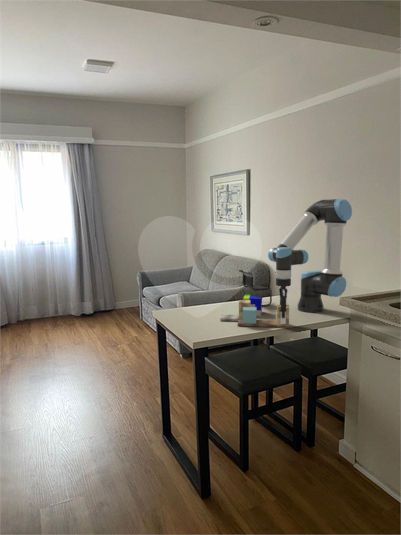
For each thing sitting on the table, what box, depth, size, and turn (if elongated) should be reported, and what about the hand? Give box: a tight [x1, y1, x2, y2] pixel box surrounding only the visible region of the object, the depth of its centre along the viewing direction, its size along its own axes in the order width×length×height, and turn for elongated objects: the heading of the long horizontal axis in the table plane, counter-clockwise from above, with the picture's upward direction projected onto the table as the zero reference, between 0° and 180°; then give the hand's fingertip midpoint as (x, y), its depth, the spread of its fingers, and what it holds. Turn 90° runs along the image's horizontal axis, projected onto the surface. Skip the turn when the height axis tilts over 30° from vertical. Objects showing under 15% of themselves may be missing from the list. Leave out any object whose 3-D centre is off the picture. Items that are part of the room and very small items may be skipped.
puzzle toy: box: [242, 294, 263, 317], centre depth 231 cm, size 10×10×10 cm
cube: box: [243, 307, 258, 324], centre depth 209 cm, size 7×7×7 cm
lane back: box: [219, 299, 250, 322], centre depth 219 cm, size 16×8×10 cm, turn 81°
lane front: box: [237, 304, 290, 328], centre depth 208 cm, size 26×8×10 cm, turn 81°
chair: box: [238, 269, 273, 308], centre depth 252 cm, size 13×17×22 cm
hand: (282, 321), depth 207 cm, fingers closed on lane front, 6 cm apart
